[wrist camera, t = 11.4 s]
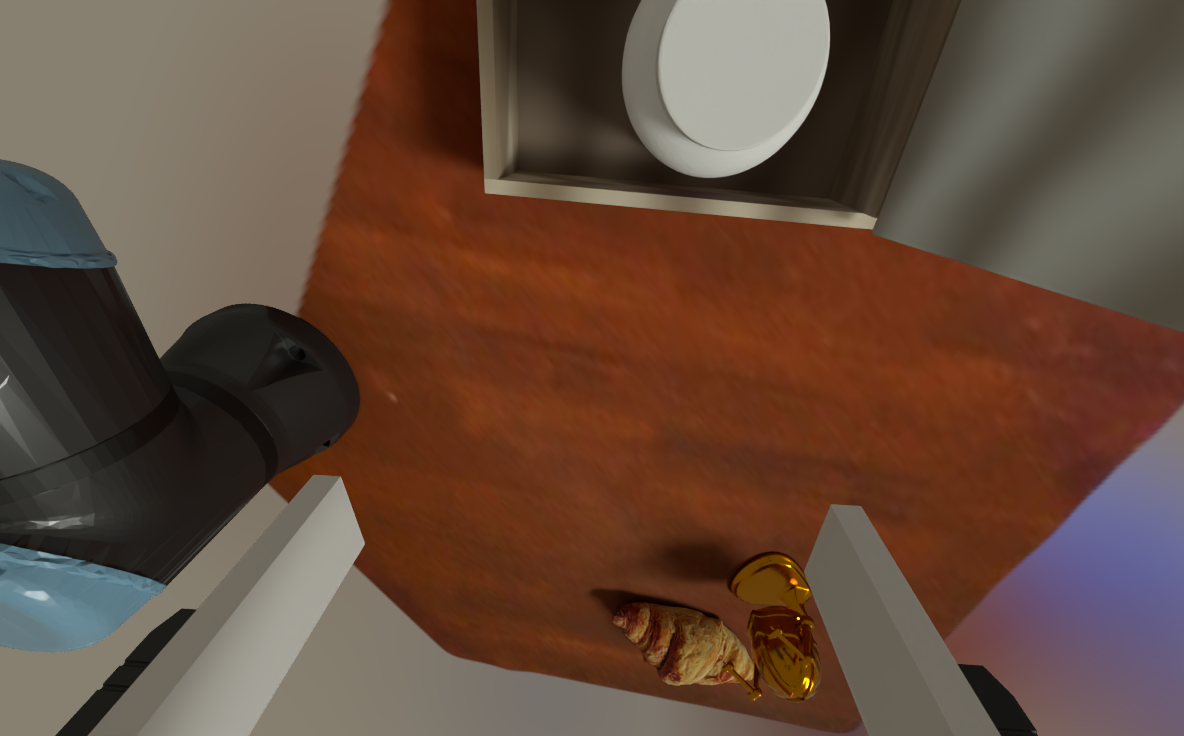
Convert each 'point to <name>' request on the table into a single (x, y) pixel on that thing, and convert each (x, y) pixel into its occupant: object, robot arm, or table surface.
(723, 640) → the croissant
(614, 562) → the table surface
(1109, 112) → the grey wooden hinged box
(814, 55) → the pill bottle
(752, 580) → the figurine
